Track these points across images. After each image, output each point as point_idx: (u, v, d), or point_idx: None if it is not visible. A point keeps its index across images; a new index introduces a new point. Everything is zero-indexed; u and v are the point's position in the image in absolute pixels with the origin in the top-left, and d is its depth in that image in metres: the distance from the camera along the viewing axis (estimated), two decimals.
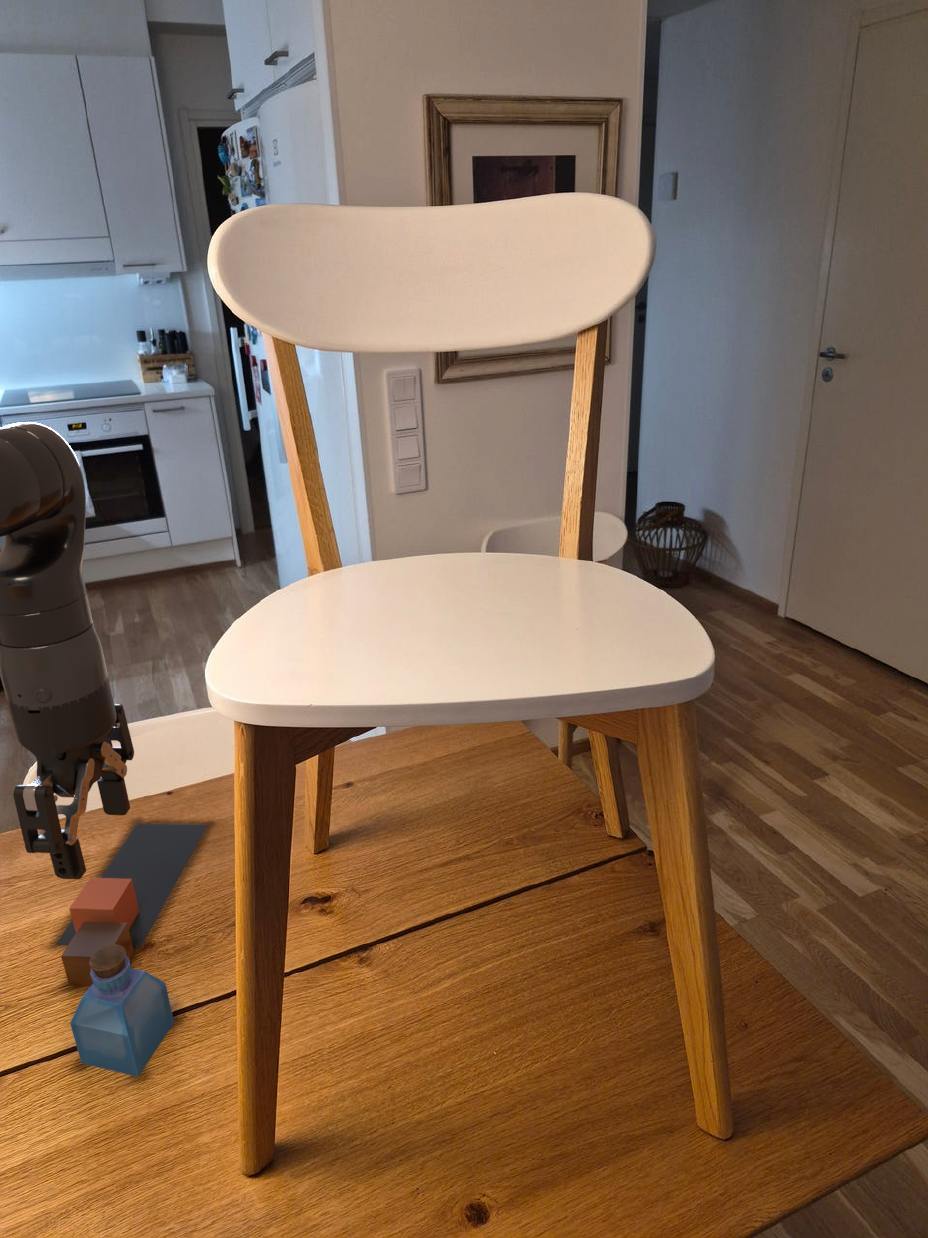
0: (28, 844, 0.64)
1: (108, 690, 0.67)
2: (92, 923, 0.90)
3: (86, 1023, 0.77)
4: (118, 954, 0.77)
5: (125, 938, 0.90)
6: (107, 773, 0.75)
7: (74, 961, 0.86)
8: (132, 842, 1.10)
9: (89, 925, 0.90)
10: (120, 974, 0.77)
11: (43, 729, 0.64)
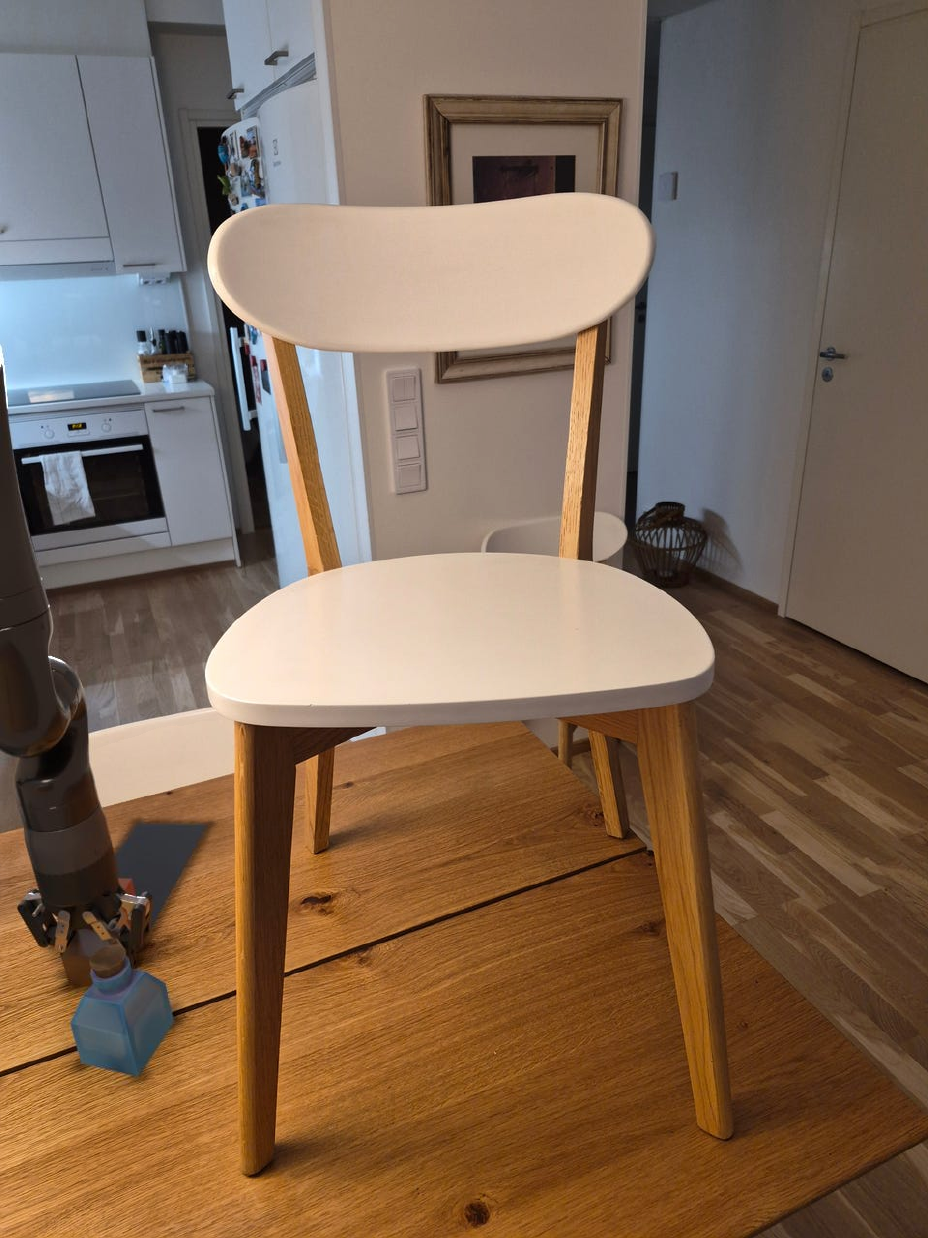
0: None
1: (61, 881, 0.81)
2: None
3: (86, 1023, 0.77)
4: (118, 954, 0.77)
5: None
6: None
7: (74, 961, 0.86)
8: (132, 842, 1.10)
9: None
10: (120, 974, 0.77)
11: None
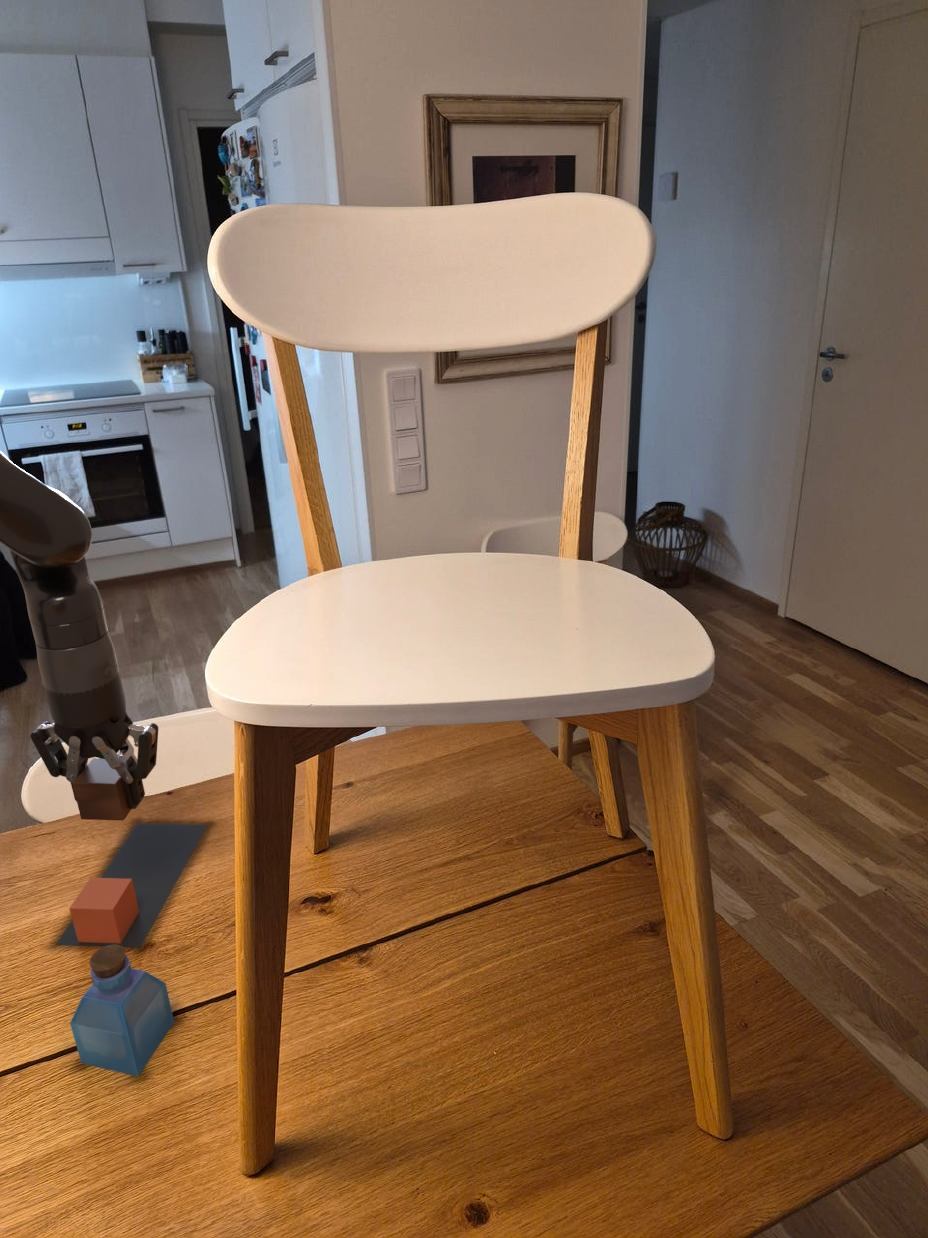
0: None
1: (72, 700, 0.85)
2: (101, 759, 0.95)
3: (86, 1023, 0.77)
4: (118, 954, 0.77)
5: None
6: None
7: (84, 788, 0.91)
8: (132, 842, 1.10)
9: (98, 760, 0.95)
10: (120, 974, 0.77)
11: None
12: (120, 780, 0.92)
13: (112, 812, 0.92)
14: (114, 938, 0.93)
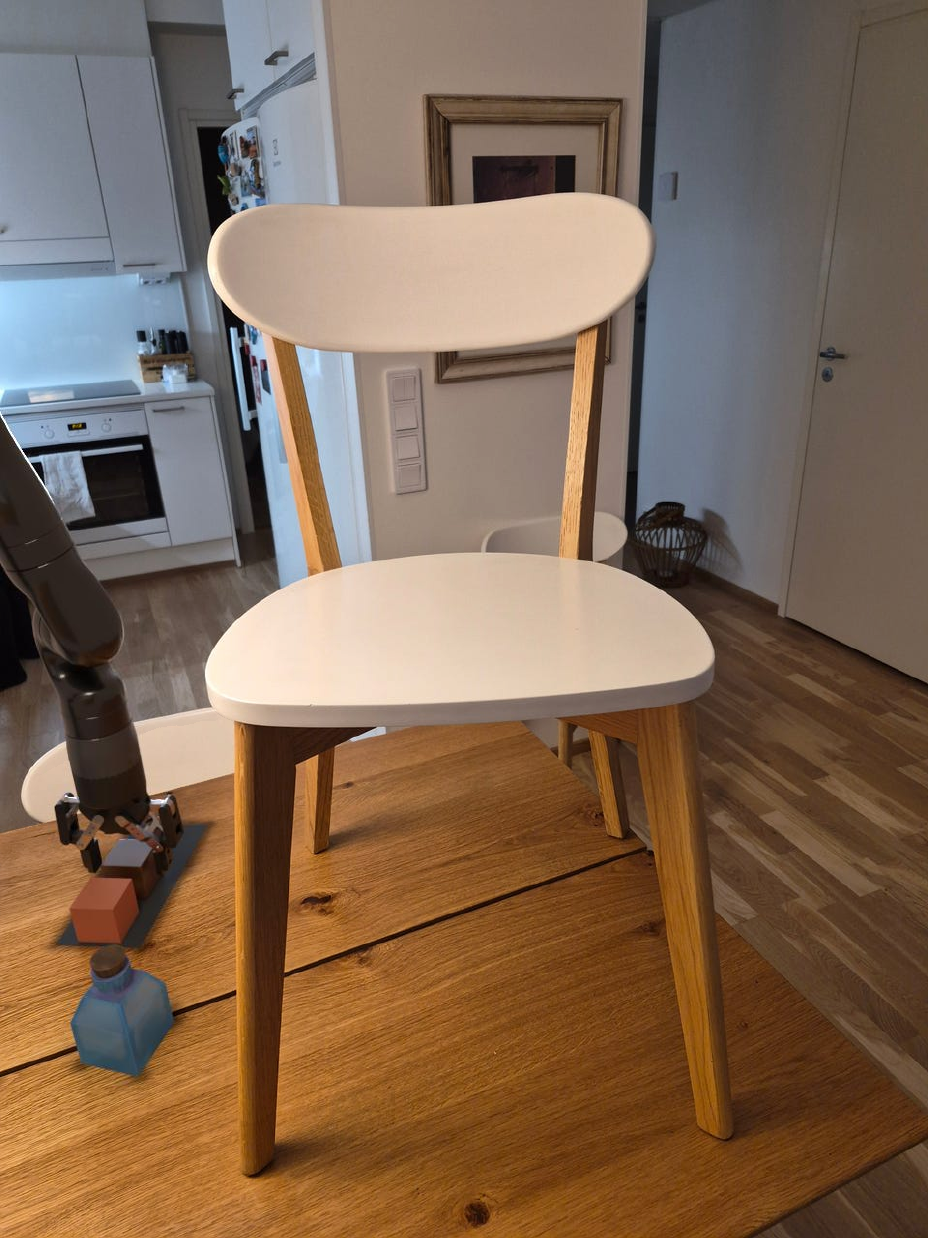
0: None
1: (99, 785, 0.92)
2: (126, 840, 1.02)
3: (86, 1023, 0.77)
4: (118, 954, 0.77)
5: None
6: None
7: (112, 870, 0.98)
8: None
9: (124, 841, 1.02)
10: (120, 974, 0.77)
11: None
12: (145, 862, 0.99)
13: (137, 892, 0.99)
14: (114, 938, 0.93)
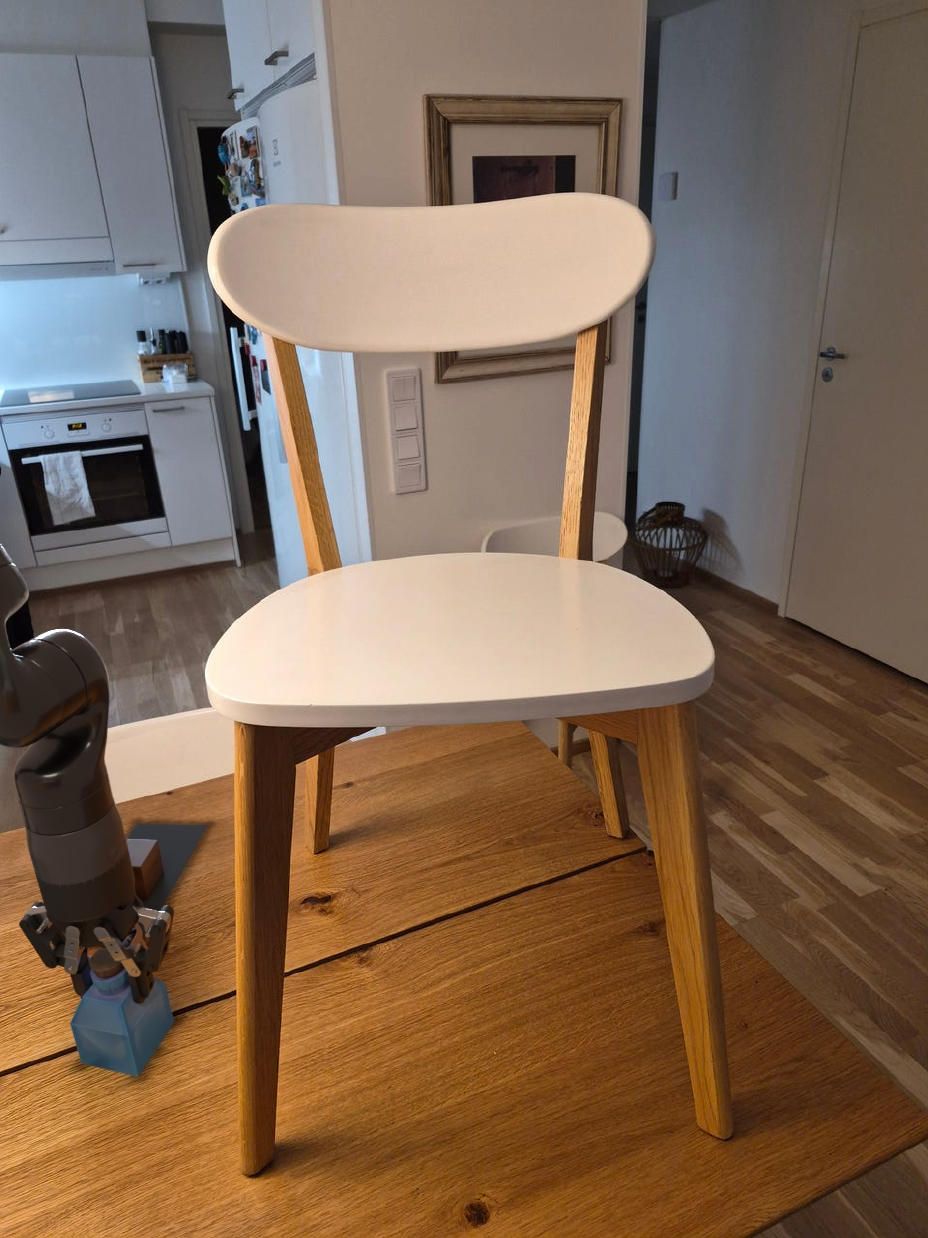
0: None
1: (70, 893, 0.69)
2: (126, 840, 1.02)
3: (86, 1023, 0.77)
4: None
5: (156, 853, 1.02)
6: None
7: None
8: None
9: None
10: (120, 974, 0.77)
11: None
12: (145, 862, 0.99)
13: (137, 892, 0.99)
14: None
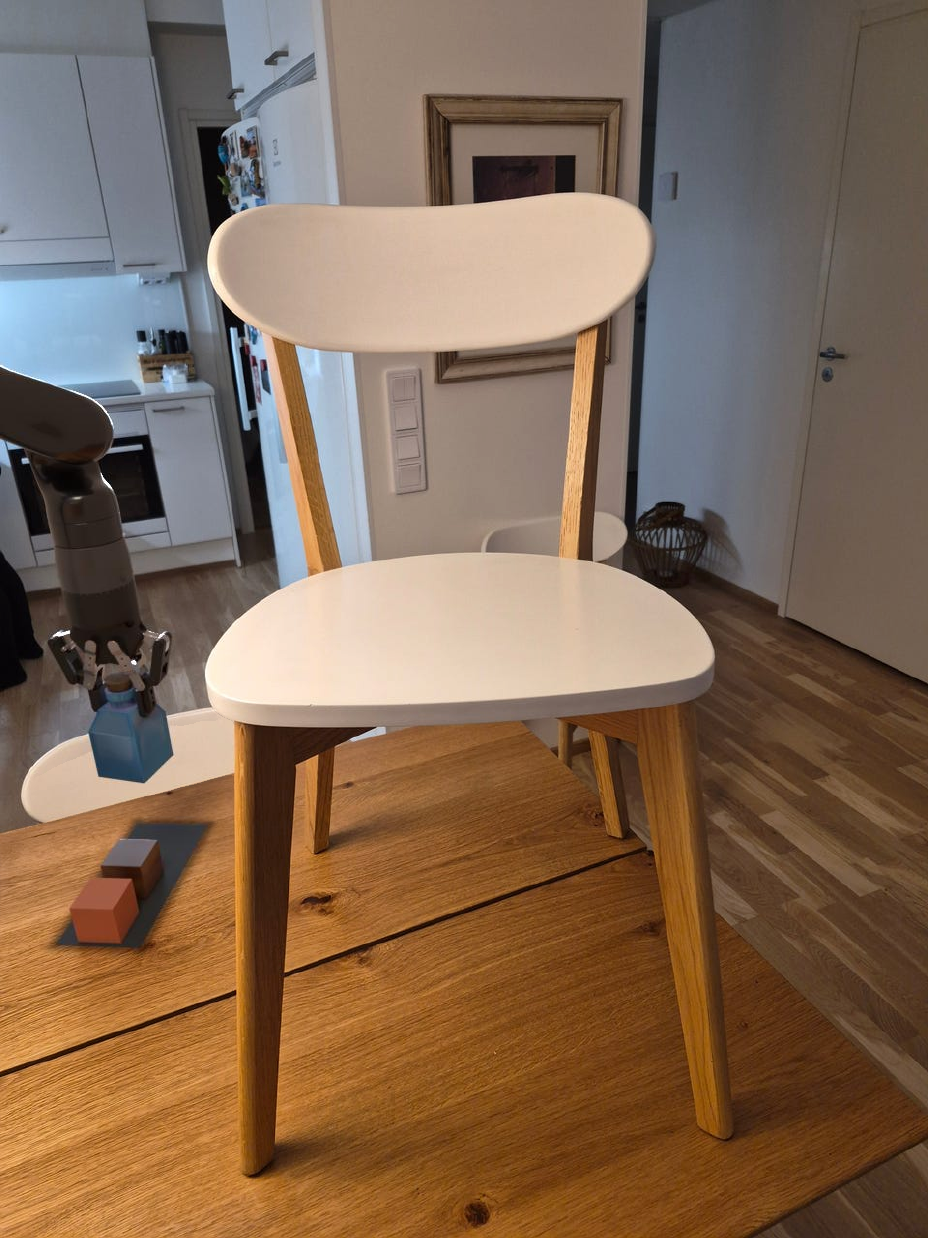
0: (74, 669, 0.96)
1: (89, 601, 0.87)
2: (126, 840, 1.02)
3: (101, 730, 0.95)
4: (127, 676, 0.95)
5: (156, 853, 1.02)
6: None
7: (112, 870, 0.98)
8: None
9: (124, 841, 1.02)
10: (129, 690, 0.95)
11: None
12: (145, 862, 0.99)
13: (137, 892, 0.99)
14: (114, 938, 0.93)
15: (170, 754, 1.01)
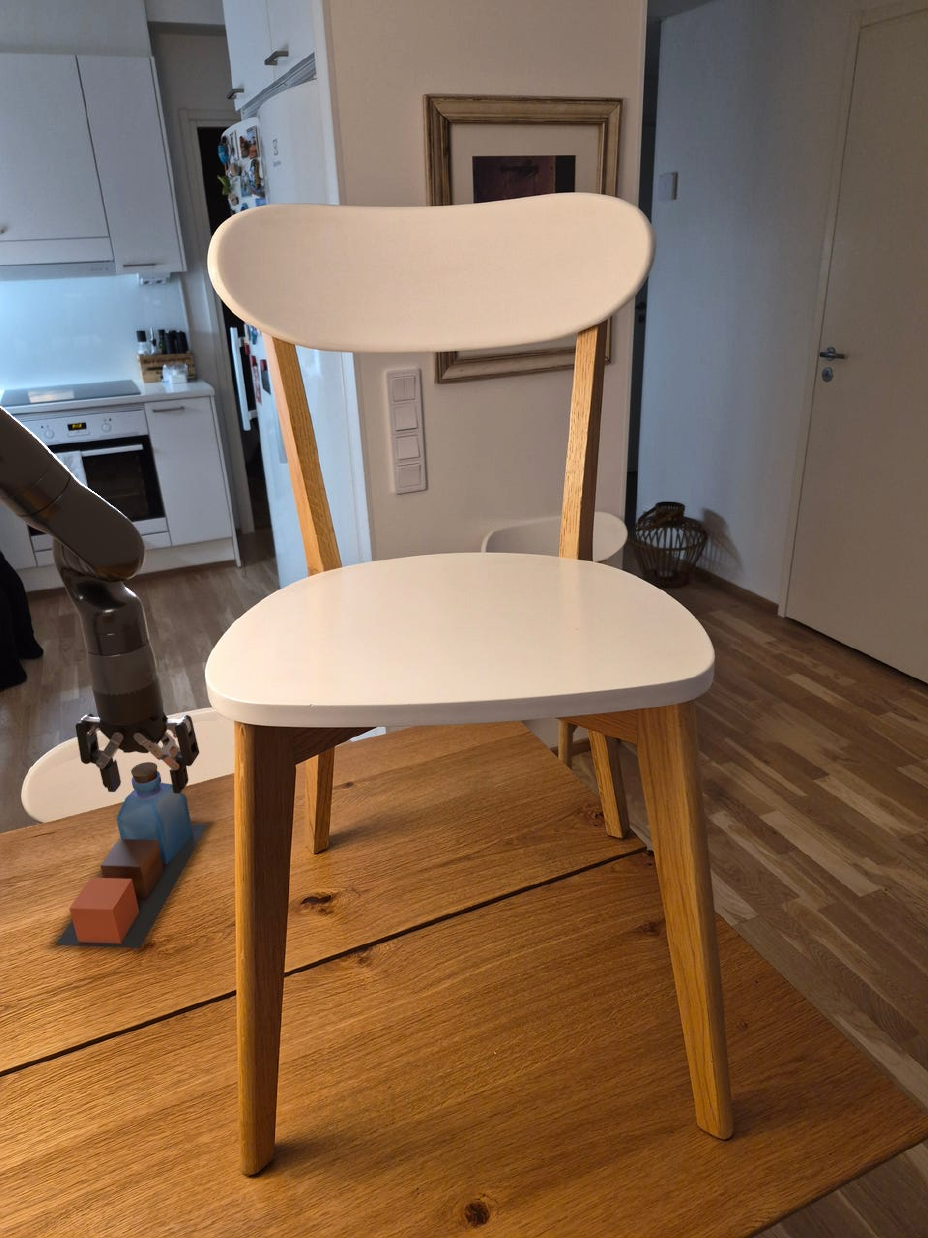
0: None
1: (118, 701, 0.96)
2: (126, 840, 1.02)
3: (128, 817, 1.04)
4: (152, 767, 1.04)
5: (156, 853, 1.02)
6: None
7: (112, 870, 0.98)
8: None
9: (124, 841, 1.02)
10: (153, 781, 1.04)
11: None
12: (145, 862, 0.99)
13: (137, 892, 0.99)
14: (114, 938, 0.93)
15: (190, 833, 1.10)
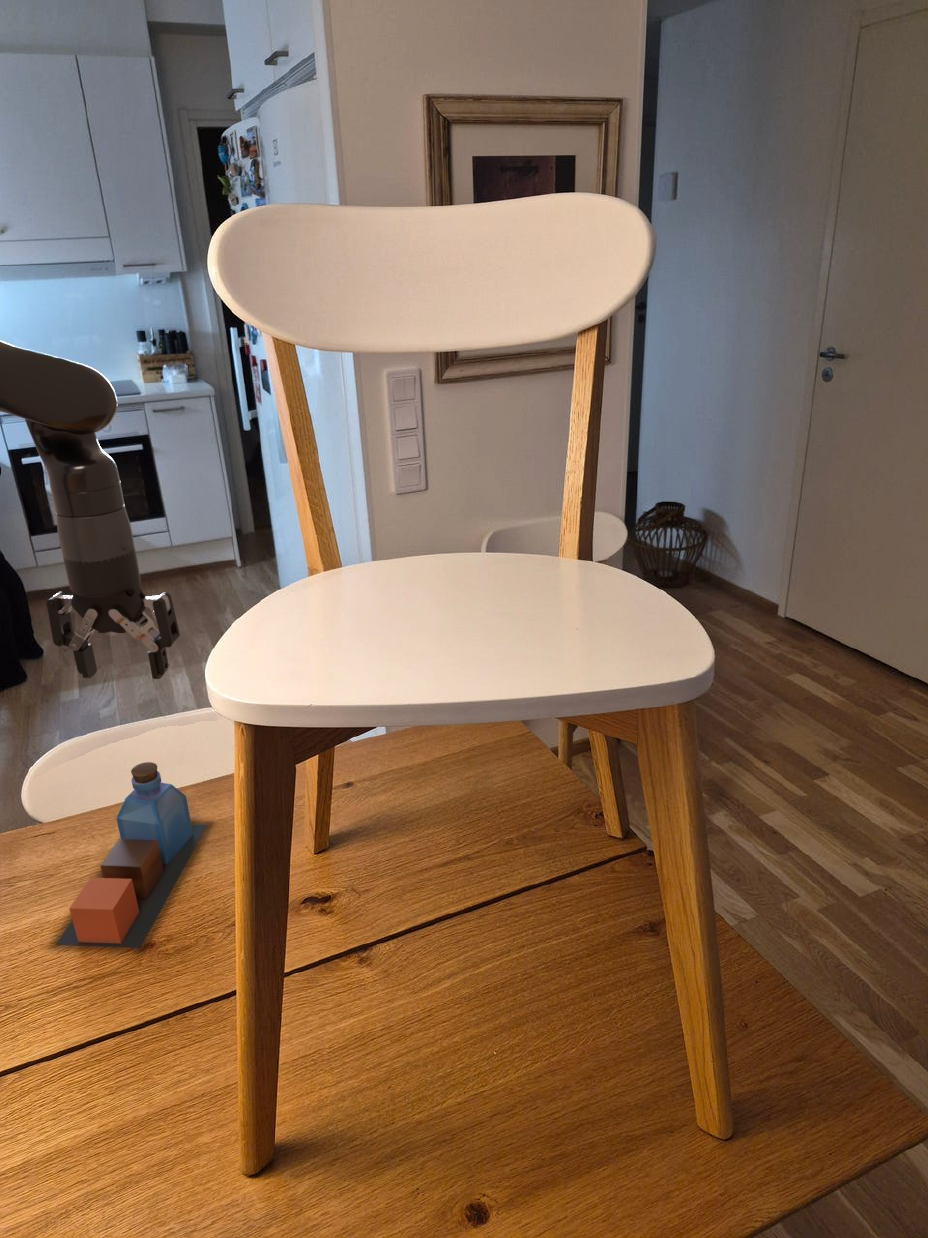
0: None
1: (91, 569, 0.89)
2: (126, 840, 1.02)
3: (128, 817, 1.04)
4: (152, 767, 1.04)
5: (156, 853, 1.02)
6: None
7: (112, 870, 0.98)
8: None
9: (124, 841, 1.02)
10: (153, 781, 1.04)
11: None
12: (145, 862, 0.99)
13: (137, 892, 0.99)
14: (114, 938, 0.93)
15: (190, 833, 1.10)
